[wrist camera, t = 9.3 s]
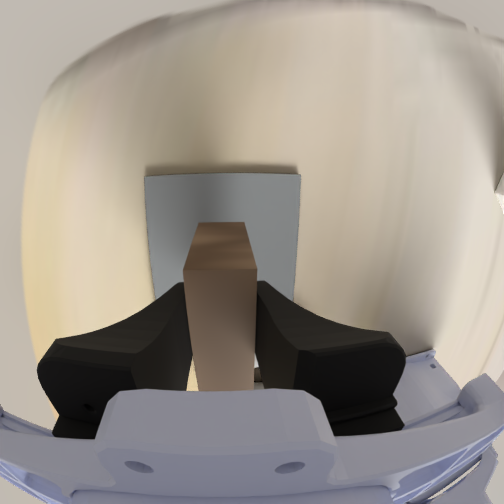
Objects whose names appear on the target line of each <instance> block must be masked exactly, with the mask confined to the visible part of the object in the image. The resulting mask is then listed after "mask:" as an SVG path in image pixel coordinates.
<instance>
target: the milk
mask: <svg viewBox="0 0 504 504" xmlns="http://www.w3.org/2000/svg"><path fill="white" fill-rule="evenodd" d="M495 194H496V197H497V199H498V201H499V204H500V206H501V209H502V211H503V214H504V172H503V175H502V177H501V180H500V182H499V184H498V186H497V189H496V191H495Z"/></svg>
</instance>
